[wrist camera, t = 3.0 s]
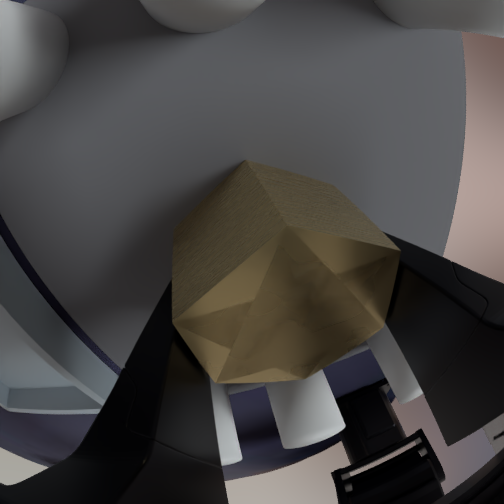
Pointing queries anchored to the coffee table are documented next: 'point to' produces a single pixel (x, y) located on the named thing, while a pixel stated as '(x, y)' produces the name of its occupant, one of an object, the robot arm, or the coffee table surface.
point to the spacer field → (223, 145)
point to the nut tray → (43, 353)
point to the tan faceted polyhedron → (278, 276)
